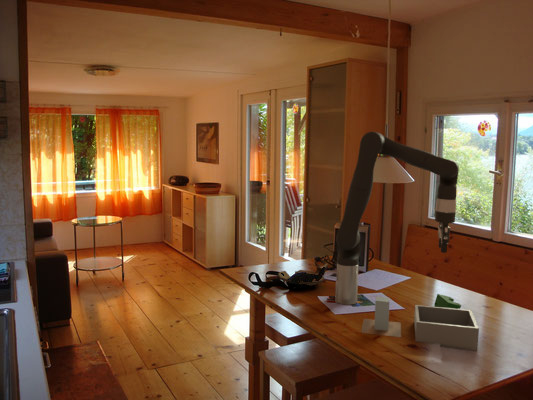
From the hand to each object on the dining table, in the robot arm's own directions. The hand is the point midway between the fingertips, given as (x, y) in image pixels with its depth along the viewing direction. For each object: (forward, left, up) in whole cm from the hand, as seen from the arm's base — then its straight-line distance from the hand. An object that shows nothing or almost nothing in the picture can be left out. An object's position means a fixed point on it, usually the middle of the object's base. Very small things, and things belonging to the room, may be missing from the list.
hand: (442, 250), depth 187 cm
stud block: (-22, -22, -27) cm, 41 cm away
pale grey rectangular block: (-22, -22, -26) cm, 41 cm away
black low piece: (-60, +26, -28) cm, 71 cm away
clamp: (+4, +6, -28) cm, 29 cm away
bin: (0, -22, -27) cm, 35 cm away
